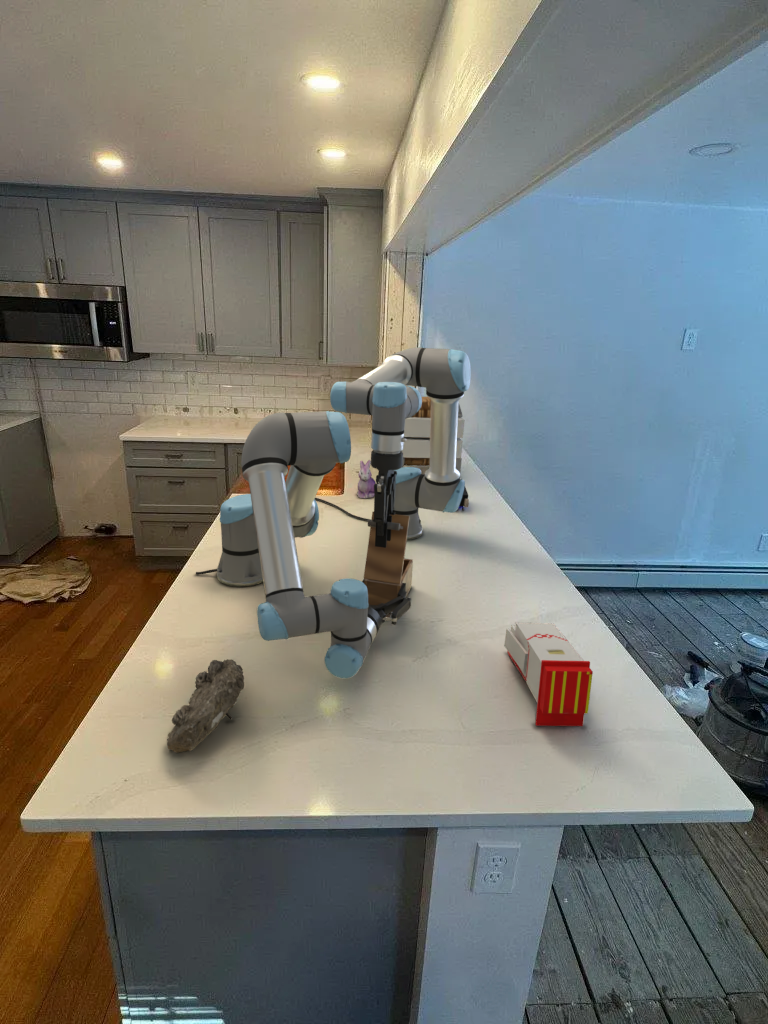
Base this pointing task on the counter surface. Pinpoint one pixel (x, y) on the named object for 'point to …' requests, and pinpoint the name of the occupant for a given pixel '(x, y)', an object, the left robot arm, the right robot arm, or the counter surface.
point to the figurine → (365, 481)
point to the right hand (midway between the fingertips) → (382, 542)
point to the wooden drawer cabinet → (425, 437)
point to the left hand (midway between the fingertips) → (384, 584)
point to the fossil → (206, 705)
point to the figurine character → (464, 500)
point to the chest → (389, 586)
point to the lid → (387, 551)
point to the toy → (551, 672)
